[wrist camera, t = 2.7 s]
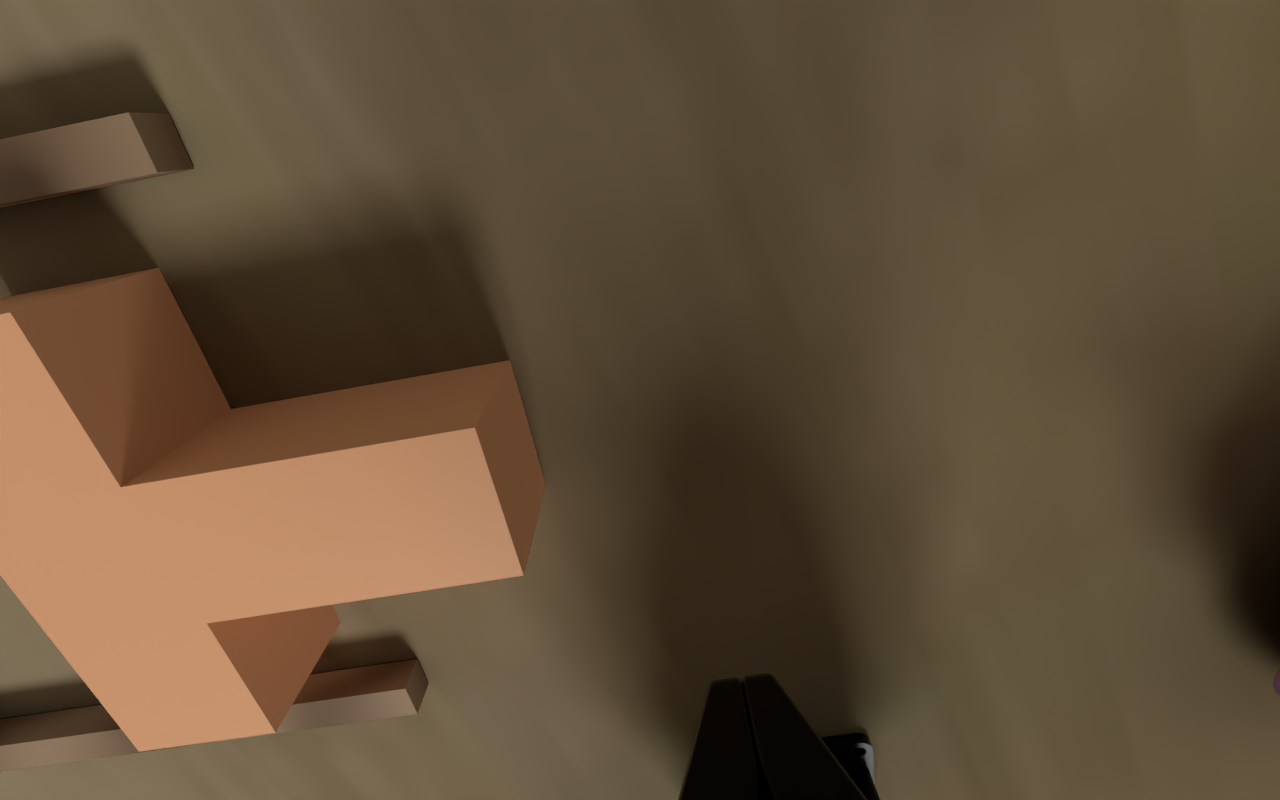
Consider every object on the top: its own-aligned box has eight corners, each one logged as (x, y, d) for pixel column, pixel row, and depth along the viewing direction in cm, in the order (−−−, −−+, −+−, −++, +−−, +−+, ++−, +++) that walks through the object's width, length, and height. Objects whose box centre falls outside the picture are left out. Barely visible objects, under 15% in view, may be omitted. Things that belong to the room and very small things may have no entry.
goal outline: (168, 113, 14) (128, 112, 13) (428, 683, 21) (417, 713, 20) (-489, 250, 15) (-579, 260, 14) (-20, 747, 22) (-53, 778, 21)
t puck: (466, 208, 15) (411, 235, 11) (575, 587, 20) (562, 693, 16) (12, 295, 15) (-178, 348, 12) (227, 639, 20) (138, 751, 17)
